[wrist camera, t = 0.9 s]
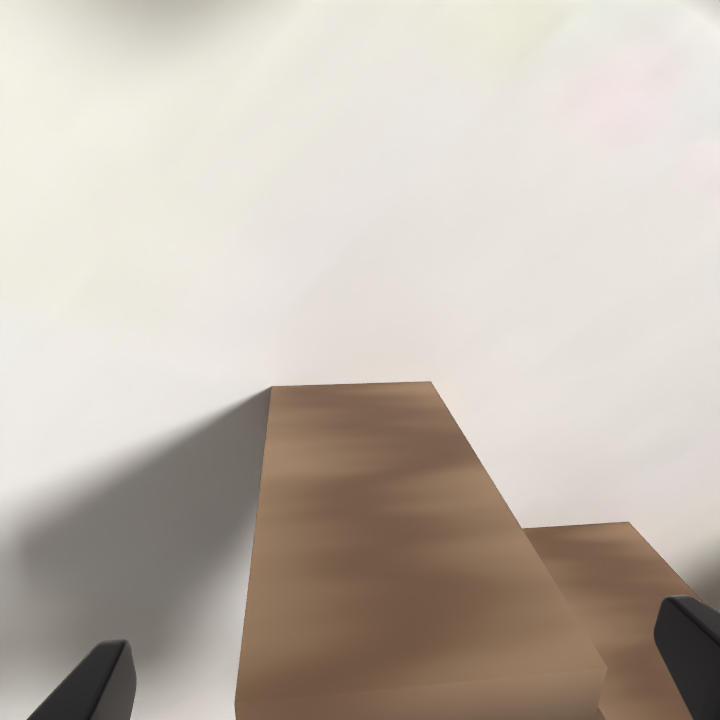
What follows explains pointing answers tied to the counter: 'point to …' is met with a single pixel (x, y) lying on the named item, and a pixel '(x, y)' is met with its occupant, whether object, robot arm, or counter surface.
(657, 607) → the domino
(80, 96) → the counter surface
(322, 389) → the domino
